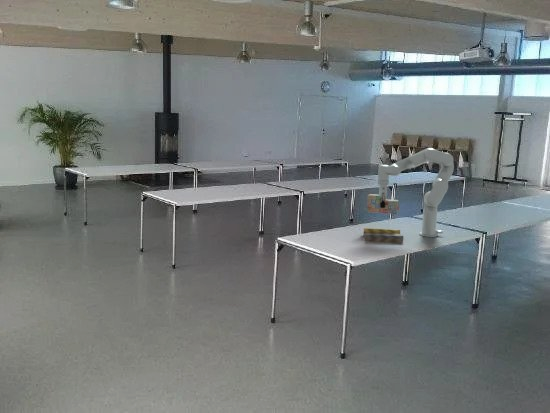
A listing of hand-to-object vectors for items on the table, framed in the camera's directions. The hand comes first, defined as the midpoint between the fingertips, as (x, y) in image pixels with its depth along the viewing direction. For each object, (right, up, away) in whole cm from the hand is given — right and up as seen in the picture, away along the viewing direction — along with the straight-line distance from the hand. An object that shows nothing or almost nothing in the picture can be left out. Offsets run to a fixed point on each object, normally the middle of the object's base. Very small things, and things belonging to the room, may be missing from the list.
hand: (382, 206), depth 386 cm
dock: (-3, -22, -16) cm, 28 cm away
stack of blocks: (0, -4, +1) cm, 4 cm away
